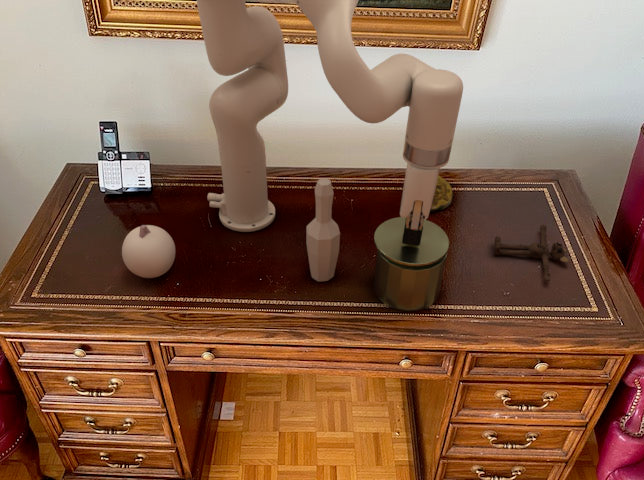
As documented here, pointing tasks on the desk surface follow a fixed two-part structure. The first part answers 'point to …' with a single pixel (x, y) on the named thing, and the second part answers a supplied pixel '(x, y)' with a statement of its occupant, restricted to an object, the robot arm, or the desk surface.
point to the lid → (411, 255)
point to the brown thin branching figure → (534, 251)
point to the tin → (407, 283)
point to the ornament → (148, 251)
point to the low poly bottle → (323, 234)
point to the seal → (441, 195)
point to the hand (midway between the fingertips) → (411, 236)
